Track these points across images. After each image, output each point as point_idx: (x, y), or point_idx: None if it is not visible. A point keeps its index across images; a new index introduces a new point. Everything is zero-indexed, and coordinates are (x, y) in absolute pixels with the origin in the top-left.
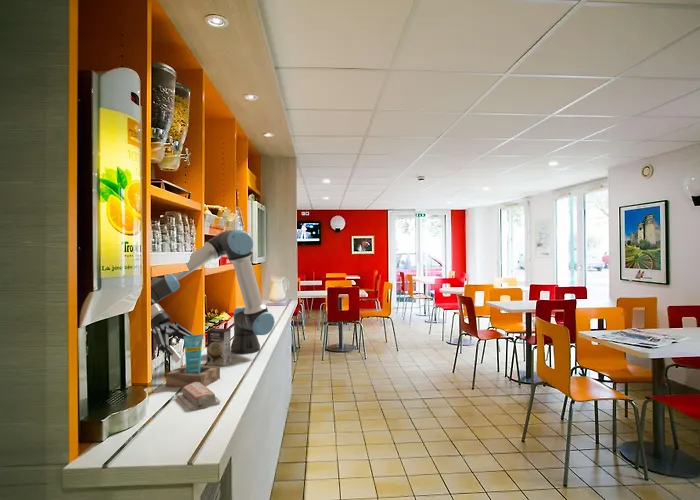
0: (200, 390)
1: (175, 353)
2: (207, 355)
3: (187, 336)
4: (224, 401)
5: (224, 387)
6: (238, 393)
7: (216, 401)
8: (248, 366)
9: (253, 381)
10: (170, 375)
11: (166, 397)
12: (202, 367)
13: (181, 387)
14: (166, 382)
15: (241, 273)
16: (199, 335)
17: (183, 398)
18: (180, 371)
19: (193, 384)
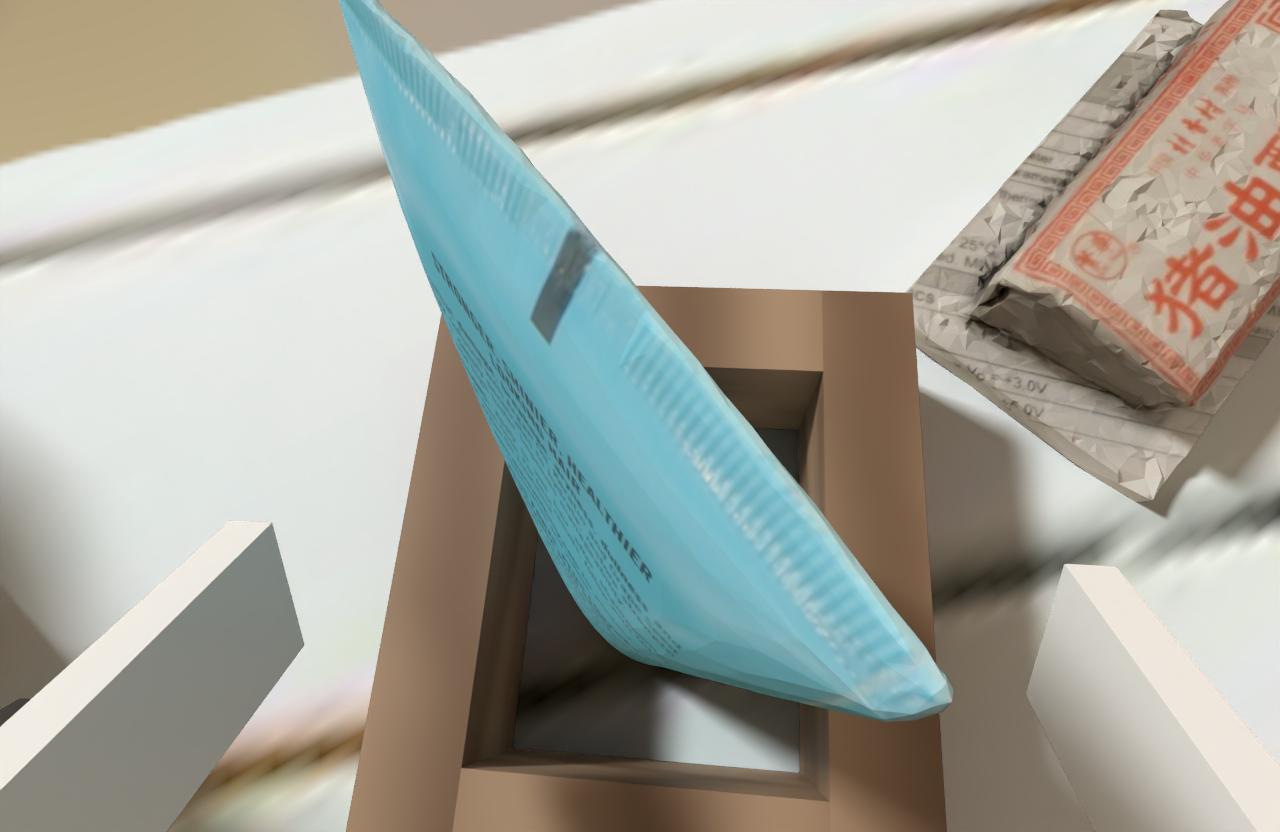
0: (1277, 104)
1: (1221, 717)
2: None
3: (763, 487)
4: (1089, 27)
5: (754, 183)
6: (876, 14)
7: (1192, 29)
8: (42, 267)
9: (546, 34)
10: (938, 829)
11: (1231, 602)
12: (501, 497)
13: None
14: None
15: None
16: (416, 62)
17: (1243, 349)
18: (692, 784)
19: (1128, 280)
